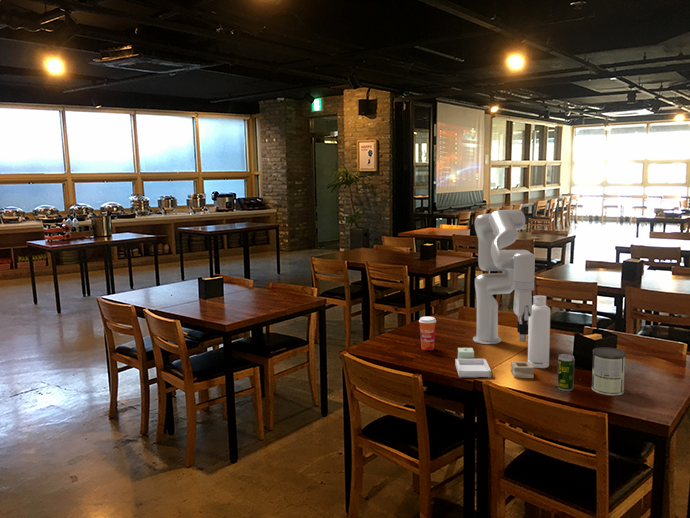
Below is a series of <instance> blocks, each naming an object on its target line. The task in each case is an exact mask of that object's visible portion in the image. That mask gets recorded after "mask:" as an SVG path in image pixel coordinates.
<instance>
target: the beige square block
mask: <svg viewBox="0 0 690 518" xmlns="http://www.w3.org/2000/svg"><path fill="white" fill-rule="evenodd" d="M534 371H535V367H533V366H532V365H531V363H530V362H528V361H510V373H511V375H512V376H513V378H514V379H534V375H535V374H534V373H535V372H534Z"/></svg>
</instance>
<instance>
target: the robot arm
mask: <svg viewBox="0 0 690 518" xmlns="http://www.w3.org/2000/svg"><path fill="white" fill-rule="evenodd" d="M525 225H526V216H525V213H524V212H523V211H522V210H520V209H497V210H494V211H493V212H491V213H482V214H479V215H477V216H476V217H475V219H474V230H475V234H476V237H477V239H478V253H477V254H478V256H477V257H478V262H477V263H478V268H479V270H481V271H485V272H491V273H481V274H479V275H477V276H476V277H475V278H474V288H475V293H476V294H475V296H476V335H475V336H473V337H472V341H474V343H478V344H483V345H495V344H496V345H497V344H499V343H501V342H502V338H501V337H499V336H498V334H499V333H498V332H499V331H498V328H499V327H498V326H499V325H498V324H499V323H498V322H499V319H498V317H499V315H498V314H499V304H498V301H497V299H496V298H495V297H494V295H505V294H507V295H508V294H509V295H510V294H511V293H512V292H513V291H514V294H513V308H512V309H513V313H514V314H515V315H516V316H517V329H516V330H517V331H516V332H517V333H518V335H519V334H520V335H526V336H527V335H528V328H529V317H530V316H531V314H532V305H533V299H532V298H533V295H532V294H533V293H532V291H535V271H536V269H535V268H536V267H535V265H536V263H535V262H536V261H535V259H536V256H535V254H534V253H532V252H530V251H529V250H527V249H504V248H506V247H508V246H511V245H513V243H515V242H516V241H517V239H518V231H521V230H522V229H523V228H524V227H525ZM497 271H499V272H500V271H501V273H497ZM493 272H496V273H493ZM522 315H524V316H522ZM522 318H523V319H522Z"/></svg>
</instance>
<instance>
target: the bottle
mask: <svg viewBox="0 0 690 518" xmlns="http://www.w3.org/2000/svg"><path fill="white" fill-rule="evenodd" d="M528 318H529V320H528V339H527V341H528V343H527V362H530V363H531V365H532V366H533V367H534V369H535V368H536V369H546V368H548V367H549V366H550V344H551V343H550V341H551V340H550V336H551V335H550V334H551V332H550V331H551V308H550V306H548V305H547V296H546V295H542V294H541V295H539V294H537V295H536V294H535V295H533V300H532V314H531V316H530V317H529V316H528Z"/></svg>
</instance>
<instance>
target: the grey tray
mask: <svg viewBox="0 0 690 518" xmlns="http://www.w3.org/2000/svg"><path fill="white" fill-rule="evenodd" d="M454 360H455V361H454V362H455V364H454V365H455V368H456V371H457V374H458V378H478V377H488V379H489V378H492V370H491V368H490V365H489V364H488V360H487V359H486V358H474V359H458V358H455V359H454Z"/></svg>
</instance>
